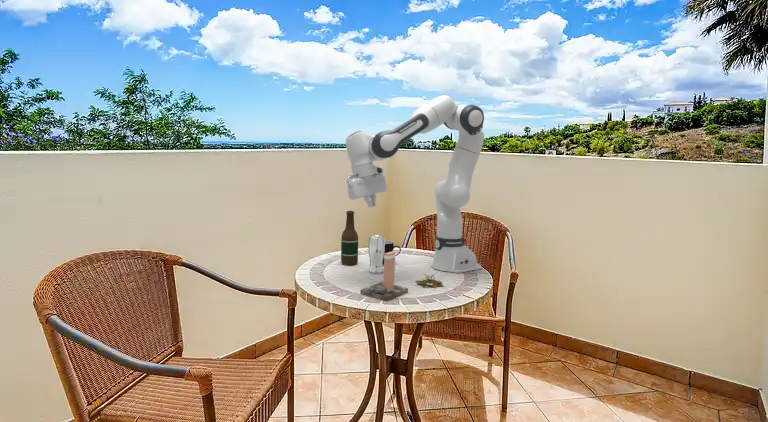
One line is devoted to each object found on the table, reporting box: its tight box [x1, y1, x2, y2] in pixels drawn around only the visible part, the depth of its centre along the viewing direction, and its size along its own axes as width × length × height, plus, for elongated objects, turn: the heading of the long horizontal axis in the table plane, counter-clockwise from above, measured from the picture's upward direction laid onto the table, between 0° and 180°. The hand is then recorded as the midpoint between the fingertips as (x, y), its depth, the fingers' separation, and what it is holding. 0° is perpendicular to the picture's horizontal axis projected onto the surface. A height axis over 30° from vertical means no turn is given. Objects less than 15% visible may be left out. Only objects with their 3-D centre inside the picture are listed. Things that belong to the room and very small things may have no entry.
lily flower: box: [415, 273, 444, 289], centre depth 178 cm, size 12×12×5 cm
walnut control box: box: [360, 281, 409, 302], centre depth 166 cm, size 12×13×3 cm
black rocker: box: [374, 288, 387, 293], centre depth 160 cm, size 4×2×1 cm, turn 53°
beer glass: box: [368, 234, 386, 274], centre depth 193 cm, size 7×7×15 cm
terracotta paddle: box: [382, 251, 396, 293], centre depth 162 cm, size 2×4×14 cm, turn 143°
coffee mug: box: [382, 239, 402, 266], centre depth 206 cm, size 12×9×10 cm
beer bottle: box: [340, 210, 359, 267], centre depth 203 cm, size 8×8×24 cm
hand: (372, 206), depth 180 cm, fingers closed
